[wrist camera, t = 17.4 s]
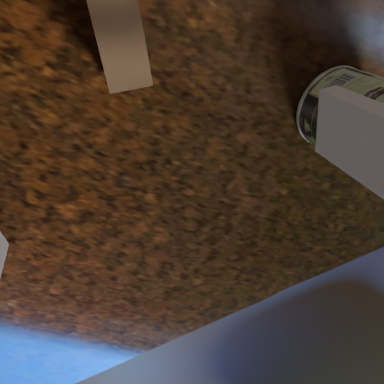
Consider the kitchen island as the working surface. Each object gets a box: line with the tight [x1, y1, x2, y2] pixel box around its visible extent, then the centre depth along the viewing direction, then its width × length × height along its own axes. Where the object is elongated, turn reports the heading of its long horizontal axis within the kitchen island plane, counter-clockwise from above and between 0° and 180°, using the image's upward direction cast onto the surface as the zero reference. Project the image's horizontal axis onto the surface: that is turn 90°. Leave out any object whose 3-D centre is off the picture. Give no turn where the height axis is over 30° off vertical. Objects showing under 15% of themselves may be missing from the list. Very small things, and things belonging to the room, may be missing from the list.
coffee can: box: [296, 66, 384, 146], centre depth 36 cm, size 10×10×14 cm
